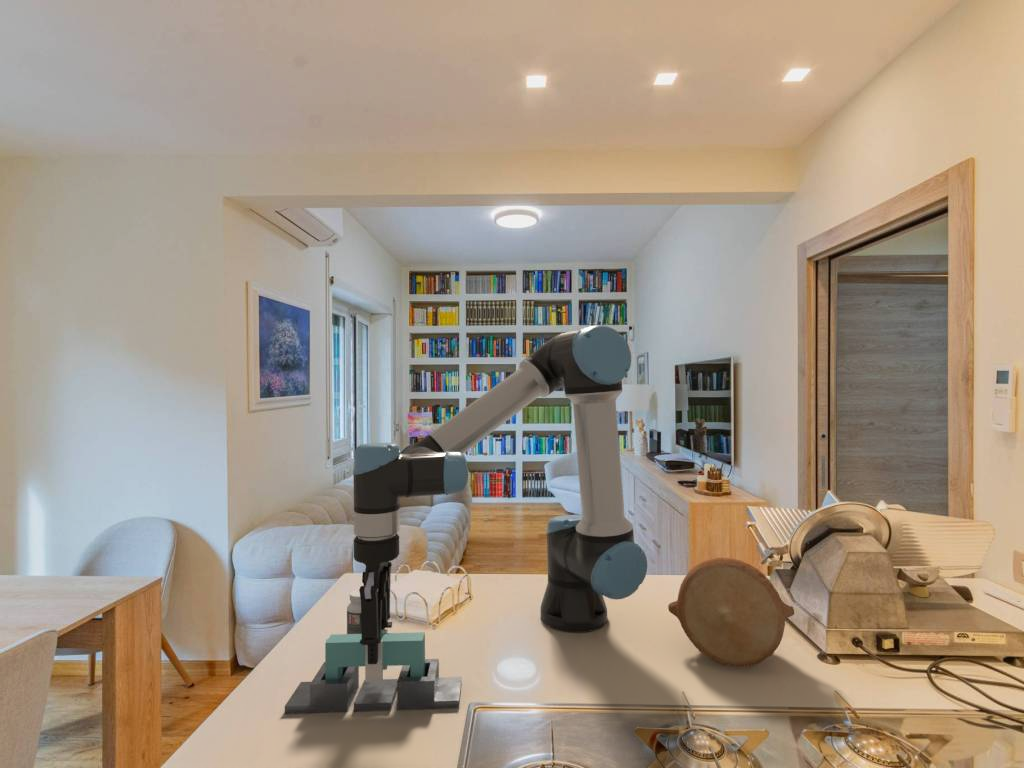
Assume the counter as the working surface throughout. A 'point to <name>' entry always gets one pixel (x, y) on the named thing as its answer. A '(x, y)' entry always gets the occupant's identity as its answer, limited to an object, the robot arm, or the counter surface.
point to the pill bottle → (354, 613)
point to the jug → (731, 612)
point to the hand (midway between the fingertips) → (376, 674)
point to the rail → (376, 692)
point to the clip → (395, 652)
